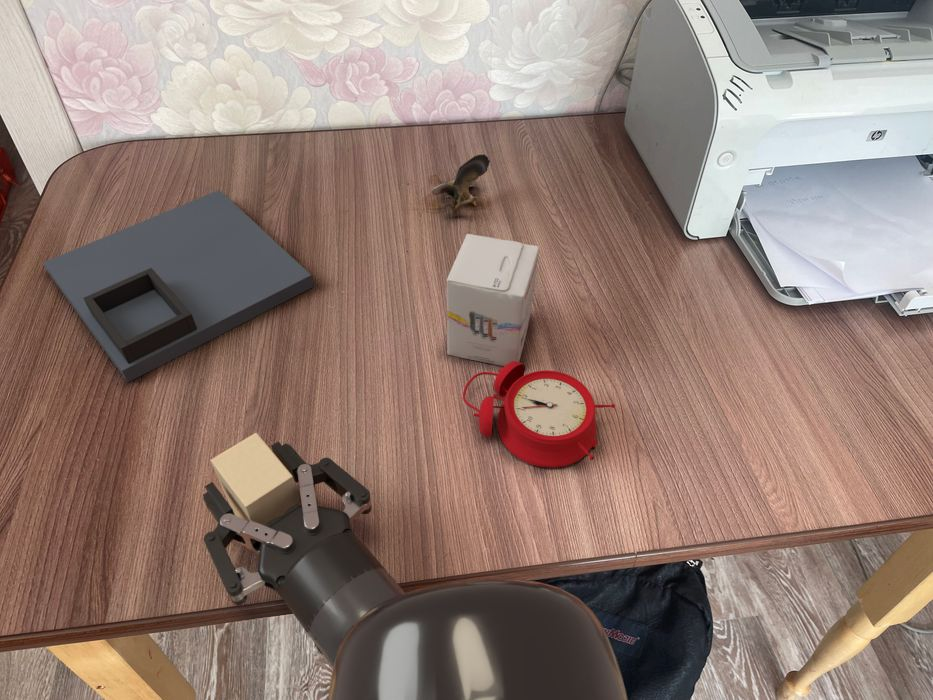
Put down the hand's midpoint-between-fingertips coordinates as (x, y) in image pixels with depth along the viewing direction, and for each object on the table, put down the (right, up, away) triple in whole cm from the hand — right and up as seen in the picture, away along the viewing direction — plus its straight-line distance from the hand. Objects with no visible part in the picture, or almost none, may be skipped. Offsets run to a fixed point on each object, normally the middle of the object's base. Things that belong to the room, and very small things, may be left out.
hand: (243, 468), depth 64 cm
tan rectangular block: (+1, -5, +3) cm, 6 cm away
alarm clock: (+27, +3, +12) cm, 30 cm away
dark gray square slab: (-16, +19, +25) cm, 35 cm away
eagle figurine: (+19, +32, +38) cm, 53 cm away
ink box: (+23, +12, +20) cm, 33 cm away
